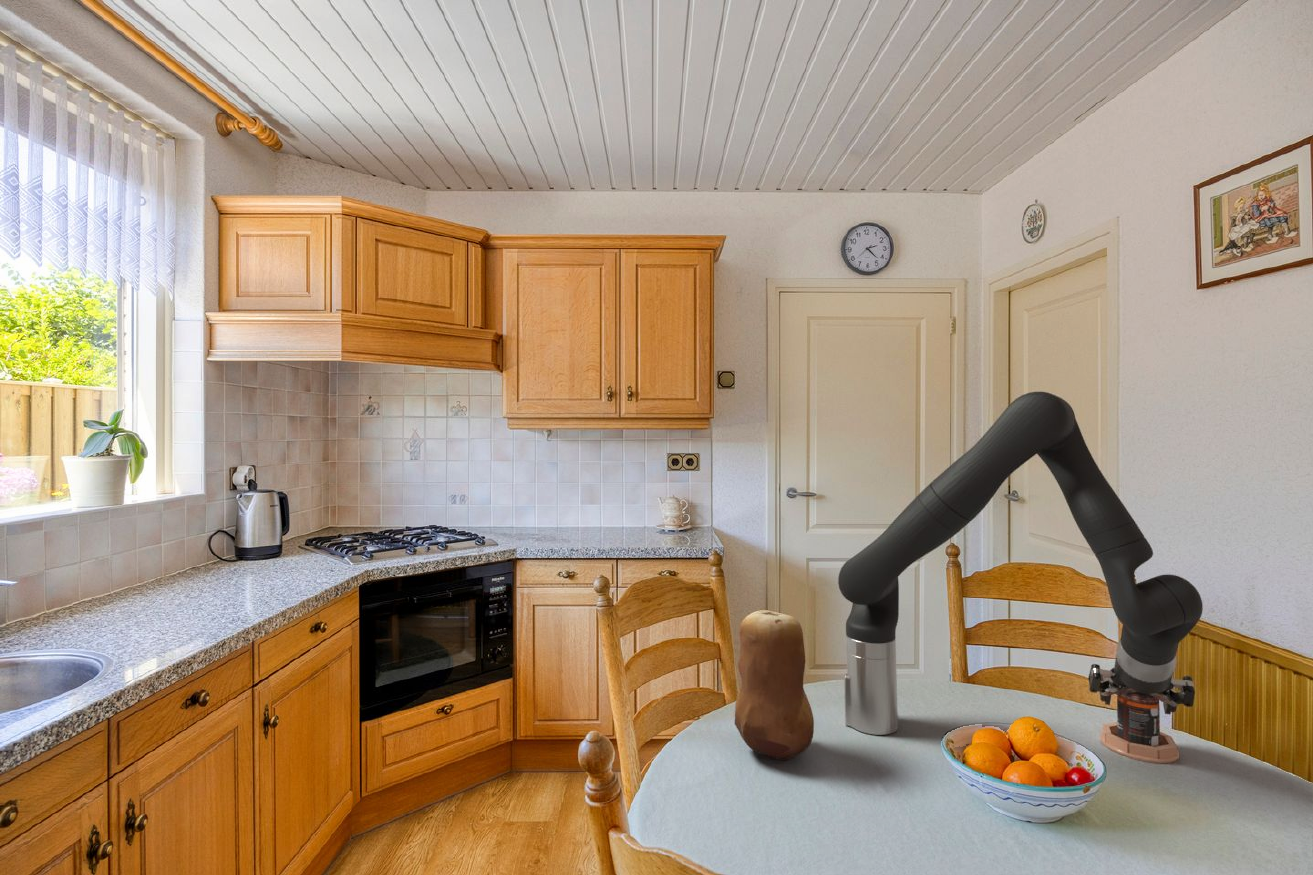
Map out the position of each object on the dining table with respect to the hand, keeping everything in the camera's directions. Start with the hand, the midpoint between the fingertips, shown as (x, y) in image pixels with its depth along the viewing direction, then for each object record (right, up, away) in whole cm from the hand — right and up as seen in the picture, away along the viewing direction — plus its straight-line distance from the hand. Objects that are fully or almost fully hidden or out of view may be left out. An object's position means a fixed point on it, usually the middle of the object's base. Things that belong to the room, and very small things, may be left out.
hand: (1135, 704), depth 109 cm
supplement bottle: (-1, -7, -2) cm, 7 cm away
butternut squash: (-66, -9, -1) cm, 66 cm away
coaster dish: (-1, -7, -1) cm, 7 cm away
